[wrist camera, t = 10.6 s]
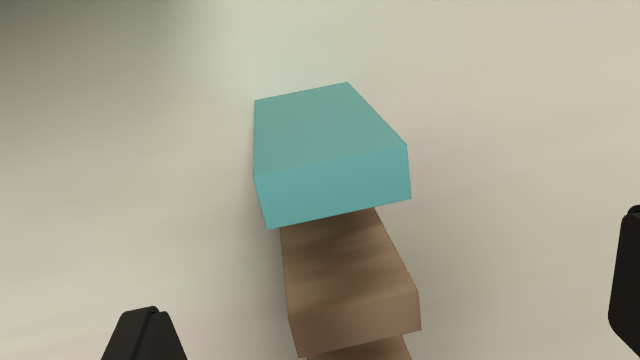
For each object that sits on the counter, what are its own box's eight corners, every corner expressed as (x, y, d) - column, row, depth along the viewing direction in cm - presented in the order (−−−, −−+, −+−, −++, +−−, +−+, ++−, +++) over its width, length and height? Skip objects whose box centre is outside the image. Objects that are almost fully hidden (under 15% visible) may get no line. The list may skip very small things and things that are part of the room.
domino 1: (347, 81, 23) (406, 144, 14) (352, 117, 24) (411, 198, 15) (254, 100, 23) (252, 176, 13) (263, 136, 23) (266, 230, 14)
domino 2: (360, 182, 25) (417, 290, 16) (364, 211, 26) (421, 329, 17) (277, 200, 25) (288, 320, 16) (284, 229, 26) (298, 358, 17)
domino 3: (372, 264, 28) (427, 398, 19) (376, 288, 29) (430, 427, 20) (296, 281, 28) (316, 425, 19) (302, 305, 28) (323, 453, 19)
